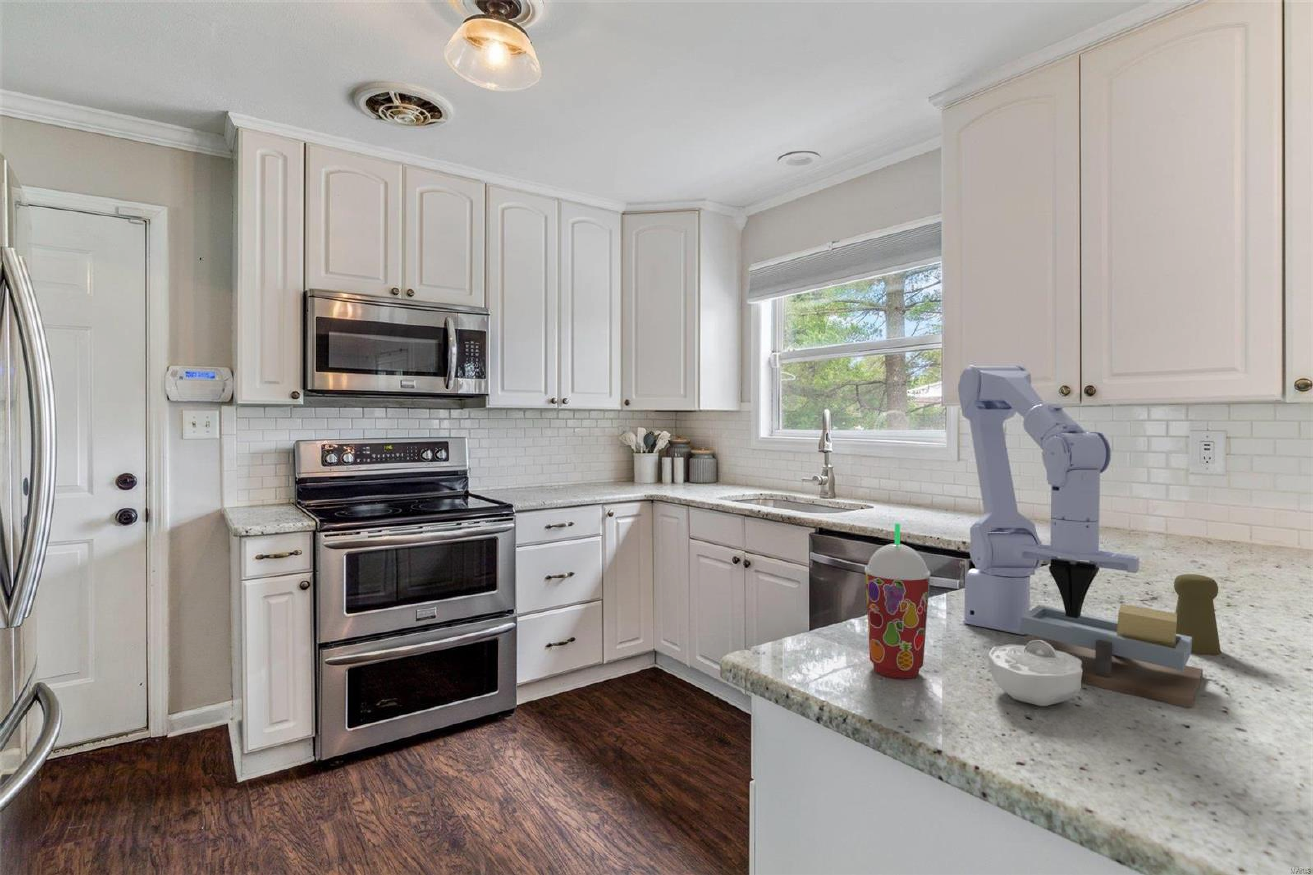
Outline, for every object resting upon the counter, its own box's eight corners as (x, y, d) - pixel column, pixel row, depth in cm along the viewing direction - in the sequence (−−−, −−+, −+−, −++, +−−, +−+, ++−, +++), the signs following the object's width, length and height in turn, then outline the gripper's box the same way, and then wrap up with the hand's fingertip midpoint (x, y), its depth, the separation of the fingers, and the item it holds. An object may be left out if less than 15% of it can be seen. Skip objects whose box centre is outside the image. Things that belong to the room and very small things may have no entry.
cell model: (968, 698, 81) (969, 642, 81) (1014, 676, 88) (1014, 625, 88) (1058, 728, 73) (1059, 666, 73) (1100, 701, 80) (1101, 645, 80)
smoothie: (927, 664, 92) (928, 521, 92) (931, 686, 84) (933, 530, 84) (864, 657, 95) (865, 518, 94) (862, 678, 87) (864, 526, 87)
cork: (1231, 656, 96) (1232, 580, 96) (1183, 653, 97) (1184, 578, 97) (1205, 643, 102) (1206, 571, 102) (1161, 640, 103) (1162, 570, 103)
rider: (1116, 641, 87) (1118, 611, 87) (1119, 632, 91) (1121, 603, 91) (1174, 653, 83) (1176, 622, 83) (1174, 643, 87) (1176, 613, 87)
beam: (1019, 632, 93) (1020, 617, 93) (1038, 619, 100) (1039, 604, 99) (1182, 671, 80) (1183, 653, 80) (1191, 653, 87) (1192, 636, 87)
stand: (1006, 665, 92) (1006, 626, 92) (1034, 642, 102) (1035, 607, 102) (1190, 708, 78) (1191, 662, 78) (1202, 676, 88) (1203, 636, 88)
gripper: (1008, 516, 94) (1007, 611, 94) (1133, 527, 84) (1131, 633, 84) (1023, 512, 99) (1022, 602, 100) (1142, 521, 89) (1140, 622, 89)
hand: (1073, 616), depth 92 cm, fingers closed
